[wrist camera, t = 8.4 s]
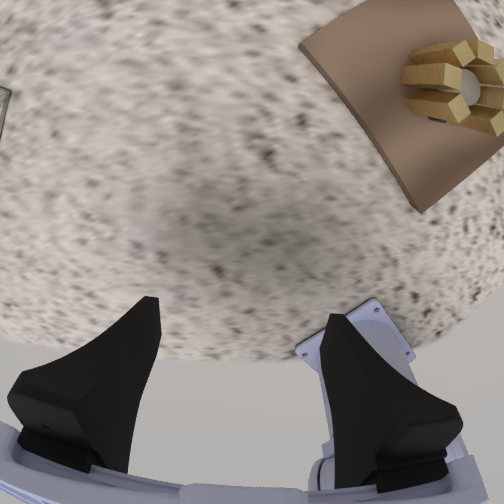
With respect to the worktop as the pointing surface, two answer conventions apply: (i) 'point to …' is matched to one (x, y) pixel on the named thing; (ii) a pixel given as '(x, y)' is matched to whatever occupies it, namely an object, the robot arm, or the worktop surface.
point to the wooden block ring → (456, 84)
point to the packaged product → (3, 104)
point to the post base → (402, 91)
